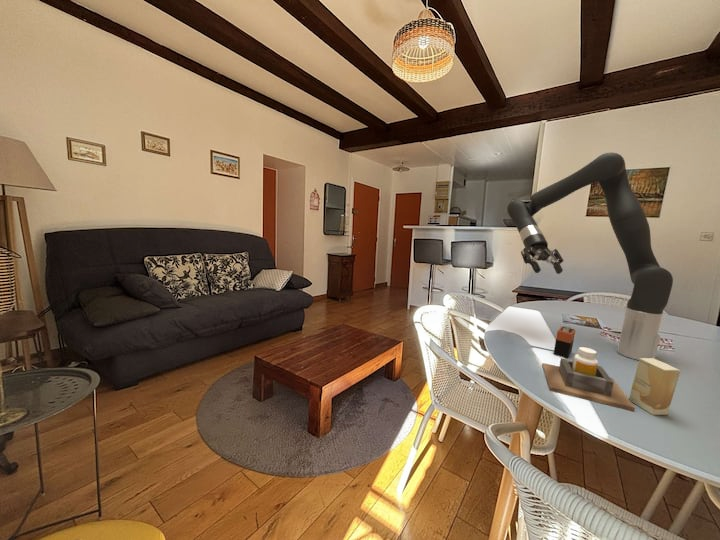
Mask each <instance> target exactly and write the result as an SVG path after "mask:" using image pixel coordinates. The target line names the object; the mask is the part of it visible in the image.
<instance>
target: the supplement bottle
mask: <svg viewBox="0 0 720 540" xmlns="http://www.w3.org/2000/svg"><path fill="white" fill-rule="evenodd" d="M577 352H578V353H576V354H574V356H573V366H572V370H573V372H577V373H582V374H586V375H591V376H595V375H596V370H597V366H599V365H598V364H599V361H598V360H597V358H596V357H597V351H596V350H594V349H593V348H590V347H585V346H584V347H583V346H579V347H578V351H577Z"/></svg>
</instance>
